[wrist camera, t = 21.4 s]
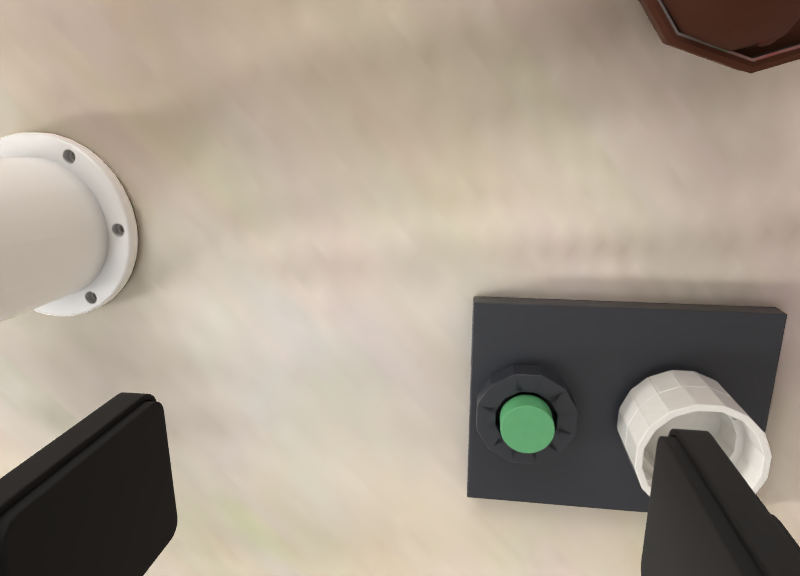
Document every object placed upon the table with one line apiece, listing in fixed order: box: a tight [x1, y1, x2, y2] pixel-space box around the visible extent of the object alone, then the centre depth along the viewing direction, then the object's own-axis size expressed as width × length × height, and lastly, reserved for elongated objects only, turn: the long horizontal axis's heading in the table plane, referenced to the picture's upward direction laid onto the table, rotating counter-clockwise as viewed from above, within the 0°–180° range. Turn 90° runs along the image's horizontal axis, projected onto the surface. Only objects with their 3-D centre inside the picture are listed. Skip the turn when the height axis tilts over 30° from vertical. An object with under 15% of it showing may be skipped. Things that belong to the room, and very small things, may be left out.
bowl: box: [617, 370, 772, 496], centre depth 33 cm, size 7×7×5 cm
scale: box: [467, 296, 787, 512], centre depth 36 cm, size 18×14×3 cm
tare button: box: [500, 394, 555, 453], centre depth 35 cm, size 3×3×2 cm
